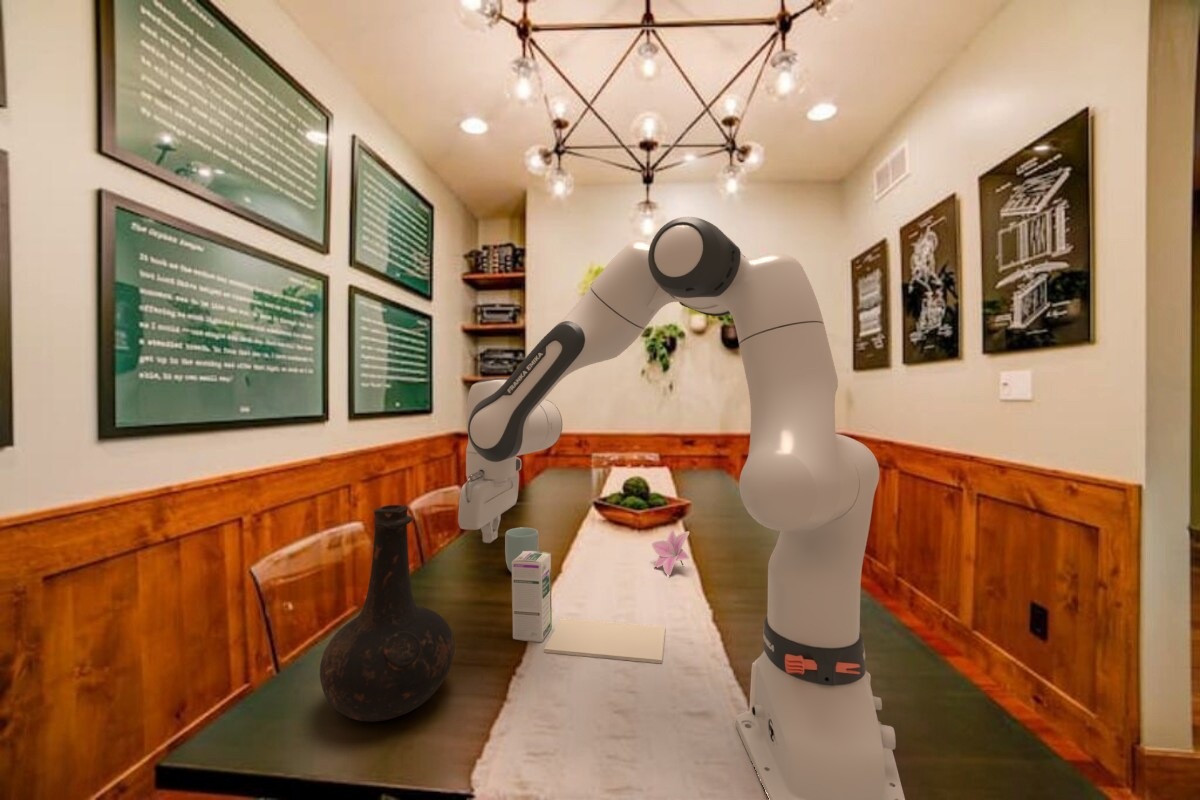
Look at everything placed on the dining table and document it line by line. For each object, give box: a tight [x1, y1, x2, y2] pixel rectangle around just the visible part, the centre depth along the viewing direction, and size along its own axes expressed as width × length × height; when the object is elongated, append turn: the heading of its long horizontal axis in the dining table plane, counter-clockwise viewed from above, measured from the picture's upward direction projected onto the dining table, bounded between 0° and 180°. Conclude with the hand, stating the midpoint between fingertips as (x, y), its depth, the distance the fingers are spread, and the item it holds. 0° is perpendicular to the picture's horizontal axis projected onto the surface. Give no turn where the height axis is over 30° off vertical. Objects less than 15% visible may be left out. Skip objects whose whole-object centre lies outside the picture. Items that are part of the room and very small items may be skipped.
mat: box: [543, 617, 666, 665], centre depth 92 cm, size 12×20×1 cm, turn 80°
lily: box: [651, 528, 690, 576], centre depth 128 cm, size 12×12×10 cm
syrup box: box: [511, 550, 553, 643], centre depth 94 cm, size 6×6×14 cm
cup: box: [504, 526, 539, 573], centre depth 126 cm, size 8×8×10 cm
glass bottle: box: [319, 504, 455, 722], centre depth 74 cm, size 18×18×28 cm
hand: (490, 540), depth 96 cm, fingers closed
